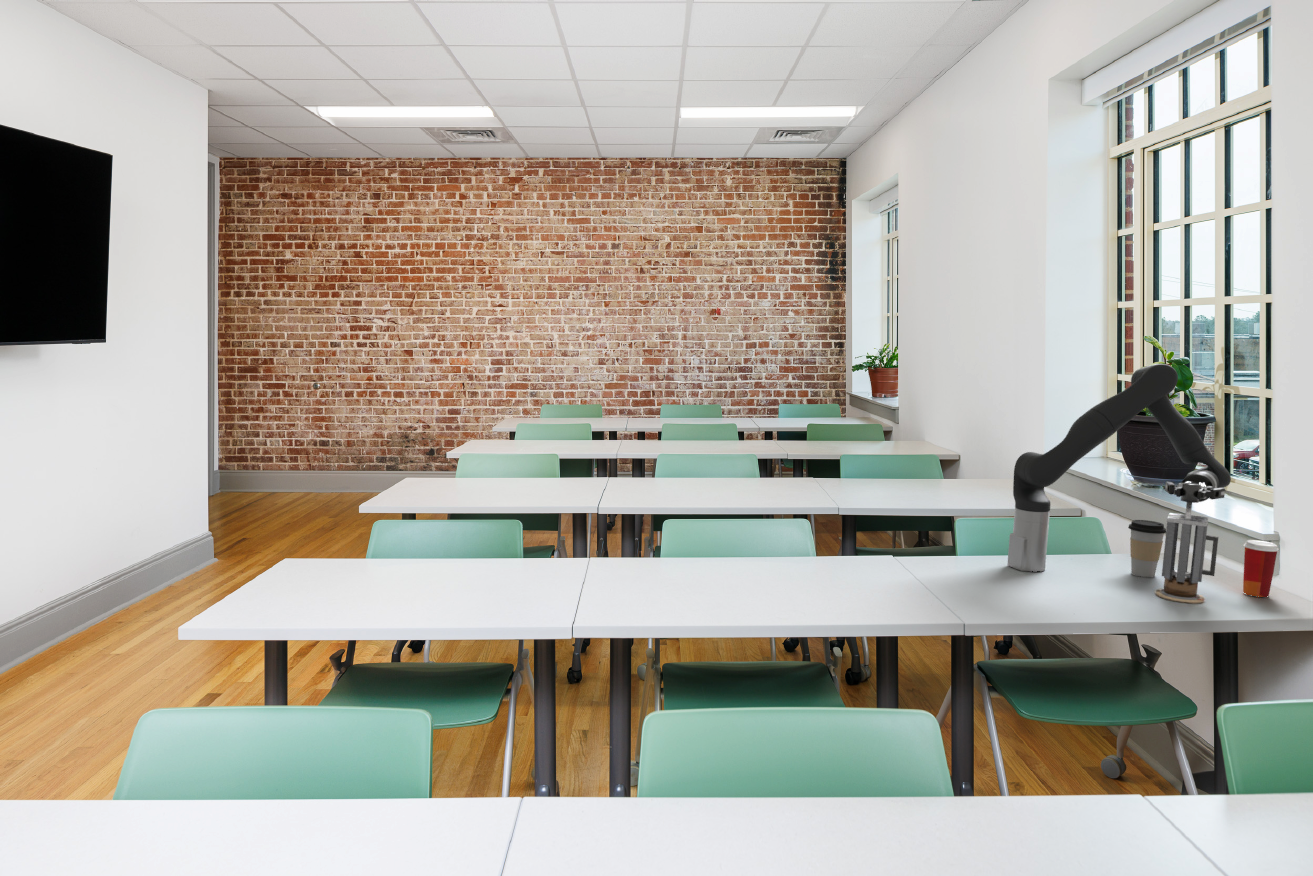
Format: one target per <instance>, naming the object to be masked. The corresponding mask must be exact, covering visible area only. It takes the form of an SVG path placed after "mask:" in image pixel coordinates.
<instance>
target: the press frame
mask: <svg viewBox="0 0 1313 876" xmlns="http://www.w3.org/2000/svg"><path fill="white" fill-rule="evenodd" d="M1185 514H1186V513H1185ZM1185 514H1183V513H1174V512H1169V514H1168V515H1167V518H1166V528H1165V529H1166V533H1165V538H1164V539H1165V540H1164V549H1163V558H1162V559H1163V560H1162V570H1161V577H1164V582H1163V583H1164V584H1163V588H1158V589H1156V590H1155V591H1154V593H1155V596H1157V597H1159V598H1161V599H1164V600H1166V601H1170V602H1176V603H1182V604H1190V605H1191V604H1192V605H1193V604H1197V605H1198V604H1203V603H1204V602H1205V600H1206V598H1205V597H1204V596H1203V595H1201V594H1199V593H1198V588H1199V587H1198V585H1199V583H1202V581H1203V575H1205V576H1212V577H1215V573H1216V572H1215V571H1216V565H1217V556H1218V555H1217V554H1218V544H1219V536H1216V535H1207V534H1208V533H1207V532H1208V525H1209V523H1208V522H1209V517H1208V516H1200V515H1194V514H1193V515H1192V514H1191V519H1187V518H1185ZM1180 524H1181V530H1180V532H1181V533H1180V542H1179V549H1178V550H1179V551H1178V562H1177V569H1176V570H1177V578H1175V577H1172V572H1173V570H1175V564H1176V554H1177V545H1178V535H1179V527H1180ZM1193 526H1194V527H1195V529H1194V530H1195V531H1194V538H1193V548H1192V556H1191V567H1190V572H1191V574H1190V579H1185V574H1186V571H1187V572H1188V566H1189V555H1190V545H1191V539H1192V537H1191V536H1192V528H1193ZM1207 541H1210V542H1211V541H1212V548H1211V549H1212V551H1211V559H1210V568H1209V570H1208V569H1204V562H1205V552H1206V546H1207V545H1206V544H1207Z"/></svg>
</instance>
